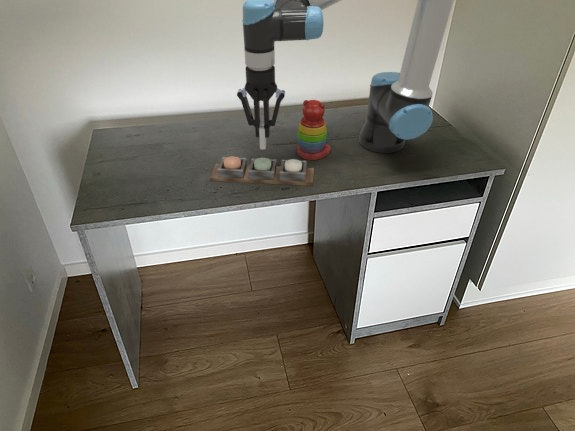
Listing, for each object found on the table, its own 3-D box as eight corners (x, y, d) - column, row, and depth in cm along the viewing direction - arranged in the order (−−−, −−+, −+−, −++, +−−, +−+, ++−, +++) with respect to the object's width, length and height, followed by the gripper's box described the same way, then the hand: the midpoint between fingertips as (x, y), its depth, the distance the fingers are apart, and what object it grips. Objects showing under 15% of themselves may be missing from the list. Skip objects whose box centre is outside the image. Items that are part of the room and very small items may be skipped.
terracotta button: (242, 165, 141) (241, 156, 139) (239, 174, 137) (239, 165, 135) (225, 164, 141) (225, 155, 139) (222, 173, 137) (222, 164, 135)
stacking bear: (333, 149, 153) (336, 97, 142) (321, 163, 145) (324, 110, 134) (302, 142, 156) (304, 91, 145) (289, 156, 149) (290, 103, 138)
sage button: (272, 166, 140) (272, 158, 139) (270, 175, 136) (270, 167, 135) (255, 166, 141) (255, 157, 139) (253, 175, 137) (252, 166, 135)
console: (313, 170, 142) (314, 160, 140) (312, 185, 136) (313, 175, 133) (215, 166, 144) (214, 156, 141) (210, 180, 137) (209, 170, 135)
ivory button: (302, 168, 140) (302, 159, 138) (301, 177, 136) (301, 168, 134) (285, 167, 140) (285, 158, 138) (284, 176, 136) (284, 167, 134)
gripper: (286, 61, 122) (286, 141, 137) (237, 59, 123) (242, 139, 137) (284, 71, 116) (284, 154, 131) (232, 70, 117) (238, 152, 131)
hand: (263, 146), depth 134 cm, fingers closed
